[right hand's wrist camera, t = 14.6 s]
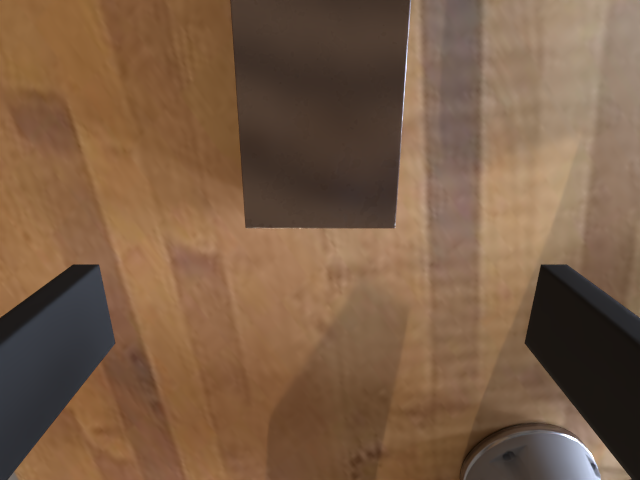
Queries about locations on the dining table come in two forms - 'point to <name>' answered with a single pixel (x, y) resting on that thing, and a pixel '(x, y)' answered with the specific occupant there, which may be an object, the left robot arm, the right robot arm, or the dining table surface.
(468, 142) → the dining table surface
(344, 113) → the cabinet
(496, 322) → the dining table surface
